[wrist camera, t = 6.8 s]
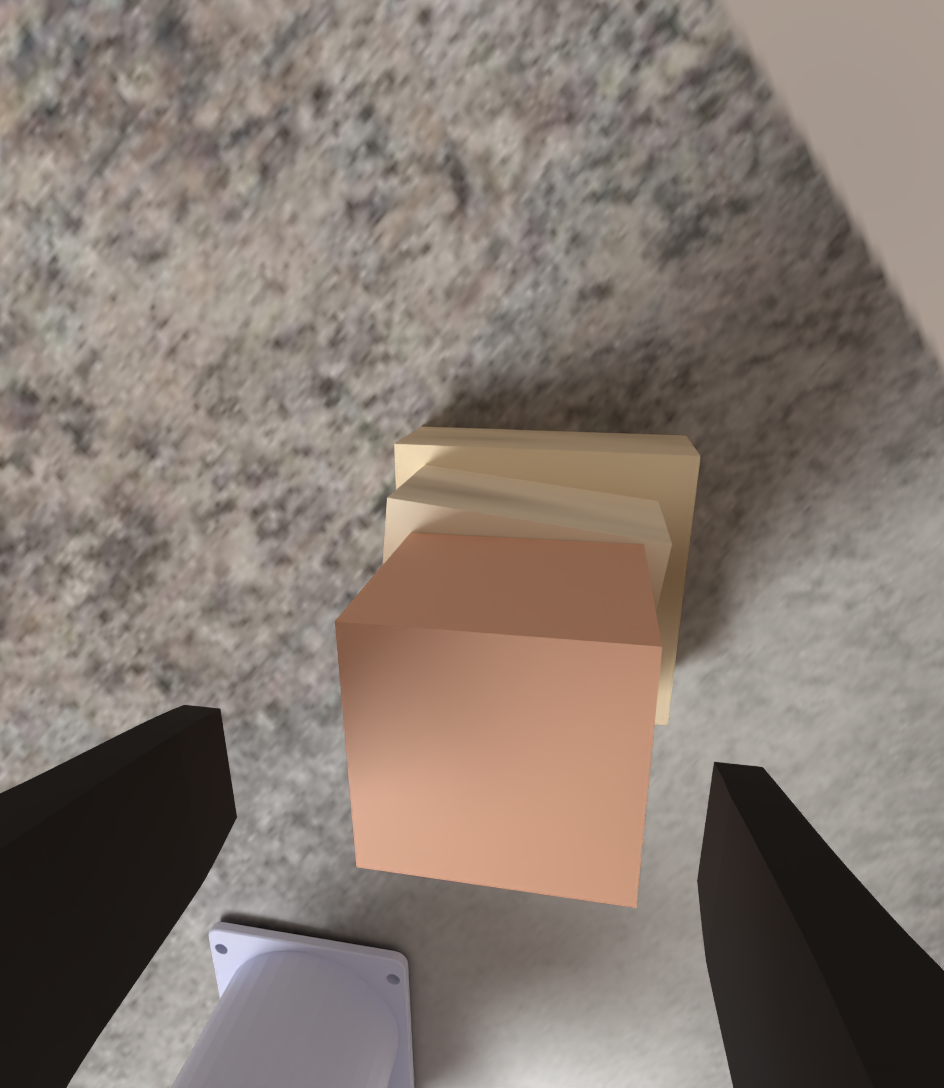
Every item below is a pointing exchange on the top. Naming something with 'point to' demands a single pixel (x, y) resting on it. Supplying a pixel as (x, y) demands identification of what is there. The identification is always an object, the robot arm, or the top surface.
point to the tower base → (586, 464)
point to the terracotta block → (503, 713)
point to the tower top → (524, 514)
